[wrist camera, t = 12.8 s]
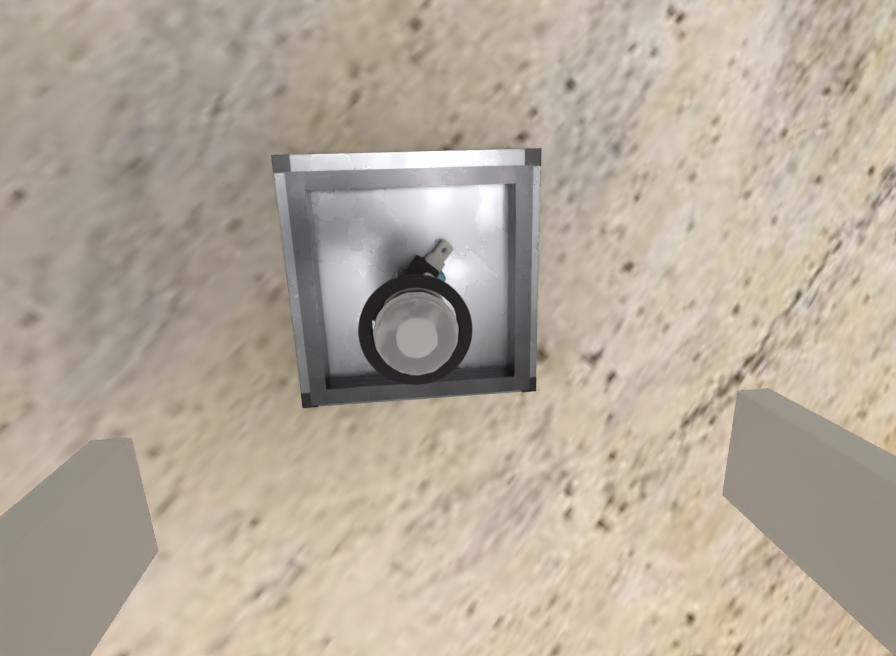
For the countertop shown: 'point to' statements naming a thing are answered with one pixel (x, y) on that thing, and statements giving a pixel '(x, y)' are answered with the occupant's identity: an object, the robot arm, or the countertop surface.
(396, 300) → the push button
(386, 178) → the grey metal square tray
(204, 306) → the countertop surface
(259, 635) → the countertop surface
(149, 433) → the countertop surface
